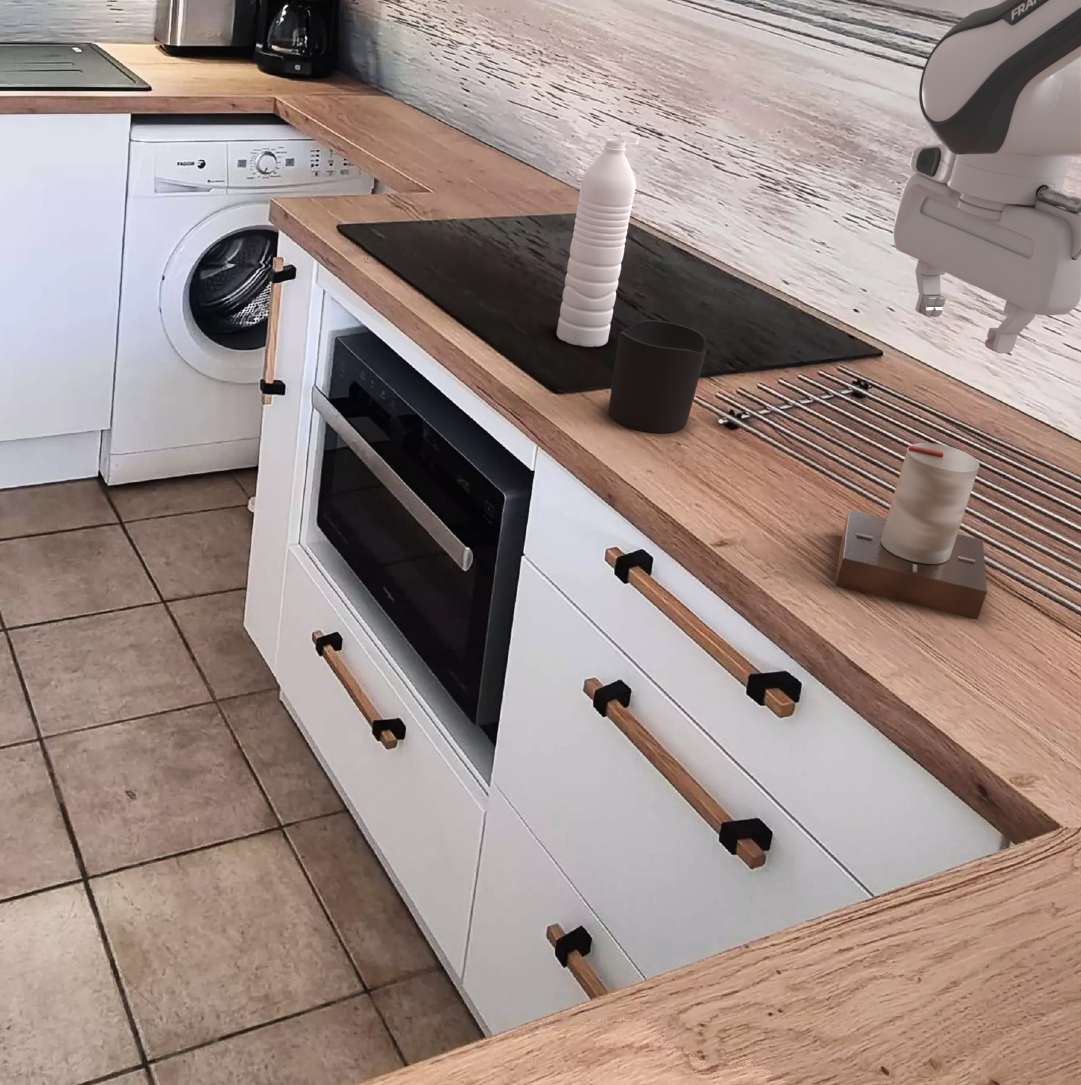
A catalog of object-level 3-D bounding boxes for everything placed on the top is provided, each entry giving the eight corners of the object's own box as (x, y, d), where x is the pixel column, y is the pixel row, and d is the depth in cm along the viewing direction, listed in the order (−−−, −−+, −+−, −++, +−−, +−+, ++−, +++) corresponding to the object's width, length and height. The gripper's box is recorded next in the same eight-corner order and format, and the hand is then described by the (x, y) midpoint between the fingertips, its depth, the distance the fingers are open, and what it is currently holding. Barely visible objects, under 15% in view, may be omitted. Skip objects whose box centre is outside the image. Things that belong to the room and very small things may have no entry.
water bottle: (595, 352, 176) (631, 148, 165) (547, 339, 179) (580, 137, 167) (622, 335, 183) (658, 138, 171) (575, 323, 186) (608, 128, 174)
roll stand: (973, 568, 132) (983, 538, 130) (977, 621, 123) (987, 590, 121) (841, 537, 135) (849, 508, 134) (834, 588, 126) (843, 556, 124)
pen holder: (705, 435, 155) (724, 348, 150) (628, 439, 152) (646, 350, 147) (663, 402, 163) (680, 319, 158) (589, 405, 160) (605, 320, 155)
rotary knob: (949, 542, 129) (979, 448, 125) (950, 570, 124) (981, 473, 120) (881, 527, 131) (908, 434, 126) (879, 554, 126) (907, 458, 121)
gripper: (1131, 205, 110) (1075, 373, 116) (960, 146, 127) (919, 295, 133) (1065, 204, 108) (1012, 375, 114) (900, 145, 125) (862, 296, 132)
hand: (961, 332), depth 124 cm, fingers open, 8 cm apart
